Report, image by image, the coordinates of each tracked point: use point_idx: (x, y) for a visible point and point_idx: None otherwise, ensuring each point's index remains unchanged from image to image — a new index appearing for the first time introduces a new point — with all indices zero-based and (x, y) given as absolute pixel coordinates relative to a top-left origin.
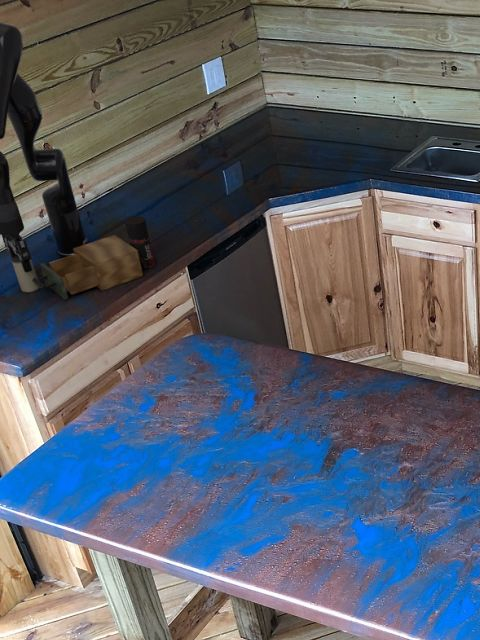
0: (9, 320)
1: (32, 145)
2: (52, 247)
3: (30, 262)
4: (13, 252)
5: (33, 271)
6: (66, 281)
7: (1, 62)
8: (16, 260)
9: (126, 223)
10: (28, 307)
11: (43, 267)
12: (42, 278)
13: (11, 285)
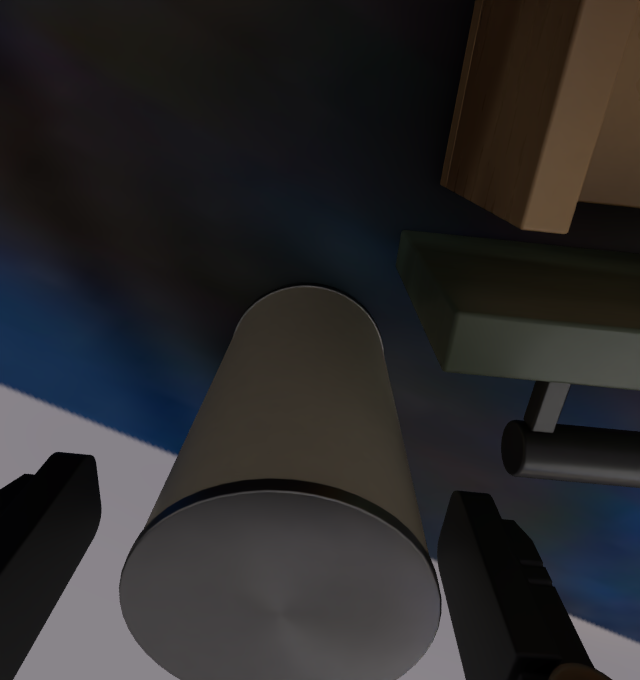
0: (589, 613)
1: None
2: None
3: (408, 503)
4: (9, 639)
5: (391, 411)
6: (632, 118)
7: None
8: (297, 673)
9: None
10: (560, 493)
11: (606, 385)
12: (564, 386)
13: (144, 418)
